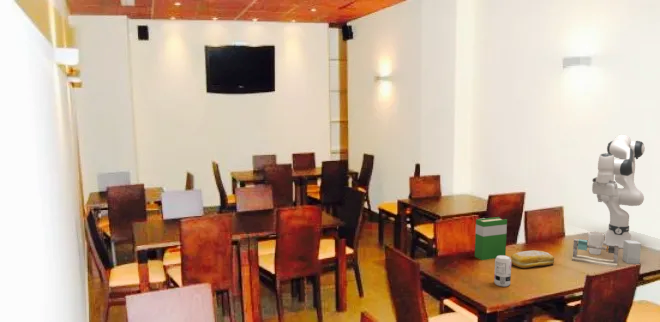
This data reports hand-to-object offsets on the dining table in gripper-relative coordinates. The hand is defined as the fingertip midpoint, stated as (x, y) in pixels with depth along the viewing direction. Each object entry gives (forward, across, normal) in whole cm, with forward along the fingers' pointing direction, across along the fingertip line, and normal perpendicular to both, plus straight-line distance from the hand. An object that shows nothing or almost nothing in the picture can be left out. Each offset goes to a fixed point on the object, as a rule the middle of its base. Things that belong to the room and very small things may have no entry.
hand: (604, 202), depth 308 cm
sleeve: (+29, +3, +11) cm, 31 cm away
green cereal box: (+37, +14, +65) cm, 76 cm away
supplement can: (+42, -31, +77) cm, 93 cm away
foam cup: (+34, +15, -5) cm, 38 cm away
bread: (+38, -2, +46) cm, 60 cm away
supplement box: (+36, -3, -17) cm, 39 cm away
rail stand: (+36, -1, +5) cm, 36 cm away
